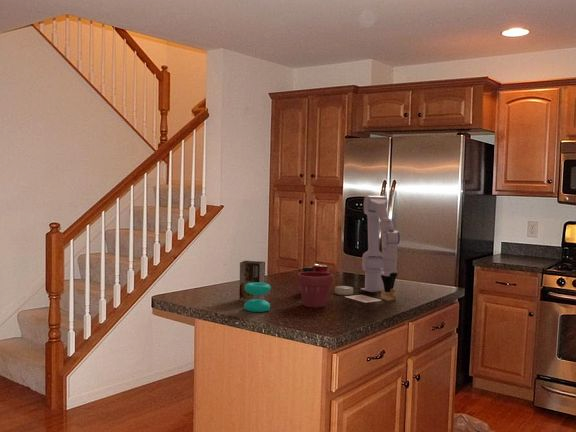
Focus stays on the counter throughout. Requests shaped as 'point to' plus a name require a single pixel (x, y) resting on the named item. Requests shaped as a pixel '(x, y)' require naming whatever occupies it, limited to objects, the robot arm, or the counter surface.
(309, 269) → the supplement bottle
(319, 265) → the soda can
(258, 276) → the coffee box
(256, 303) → the donuts
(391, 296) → the maple block
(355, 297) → the letter
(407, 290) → the counter surface
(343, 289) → the puck
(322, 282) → the plant pot
